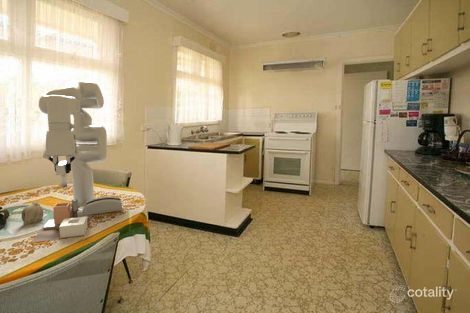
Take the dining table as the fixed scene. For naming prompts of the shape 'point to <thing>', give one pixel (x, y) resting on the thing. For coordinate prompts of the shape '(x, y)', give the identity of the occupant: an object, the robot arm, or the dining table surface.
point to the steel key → (62, 172)
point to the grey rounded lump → (32, 213)
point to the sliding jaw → (62, 212)
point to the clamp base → (51, 222)
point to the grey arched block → (103, 205)
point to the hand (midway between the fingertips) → (63, 172)
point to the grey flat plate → (51, 234)
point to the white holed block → (73, 227)
